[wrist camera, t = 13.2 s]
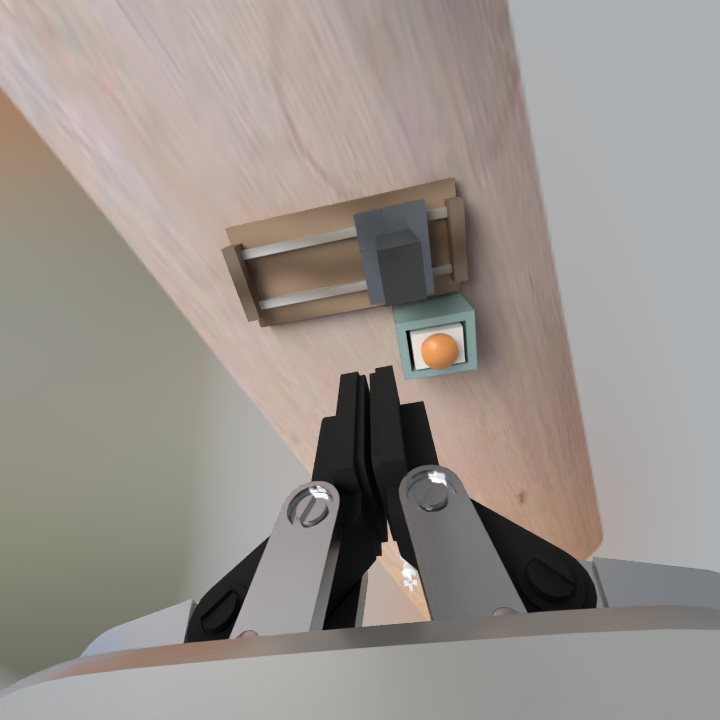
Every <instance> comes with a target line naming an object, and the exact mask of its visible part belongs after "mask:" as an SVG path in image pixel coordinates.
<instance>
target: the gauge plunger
mask: <svg viewBox="0 0 720 720" xmlns="http://www.w3.org/2000/svg"><path fill="white" fill-rule="evenodd" d="M408 335H409V342H410V348H411V352H412V356H413V360H414V364H415V368H416V370H418V369H424V368H433V369H445V368H448V367H450V366H451V365H452V364H455V363H461V362H465V355H464V340H463V327H462V325H461V323H460V322H453V323H447V324H442V325H436V326H430V327H424V328H419V329H413V330H408Z"/></svg>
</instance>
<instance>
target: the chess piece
mask: <svg viewBox="0 0 720 720" xmlns="http://www.w3.org/2000/svg"><path fill="white" fill-rule="evenodd" d="M400 558H401V560H403V561H404V566H403V569H402V575H403V576H404V577H405V578H408V580H407V581H404V586H409V590H410V591H413V586H415V585H417V580H412V578H414V577H416V575H417V571H416V569H415V568H414V567H413V566H411V565H410V564H409V563H408V562H407V561H405V560H404V559H403V558H402V557H401V555H400Z"/></svg>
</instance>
